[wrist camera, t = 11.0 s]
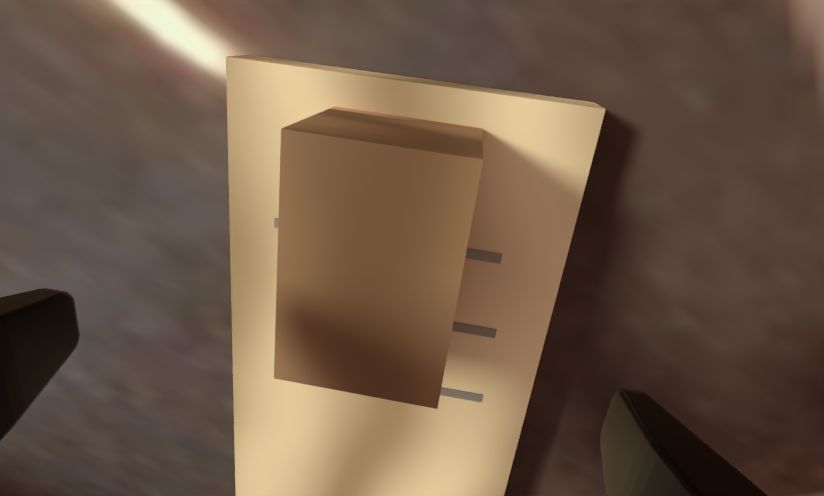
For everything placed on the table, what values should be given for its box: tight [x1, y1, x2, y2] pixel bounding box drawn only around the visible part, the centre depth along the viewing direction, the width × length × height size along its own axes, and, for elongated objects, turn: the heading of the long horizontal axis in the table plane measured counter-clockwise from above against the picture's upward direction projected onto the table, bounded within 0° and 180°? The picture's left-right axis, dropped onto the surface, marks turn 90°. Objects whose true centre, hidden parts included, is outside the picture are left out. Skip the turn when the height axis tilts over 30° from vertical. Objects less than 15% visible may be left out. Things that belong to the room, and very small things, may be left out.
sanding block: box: [274, 106, 483, 409], centre depth 13 cm, size 4×6×4 cm, turn 173°
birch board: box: [226, 55, 606, 496], centre depth 17 cm, size 10×18×2 cm, turn 173°
